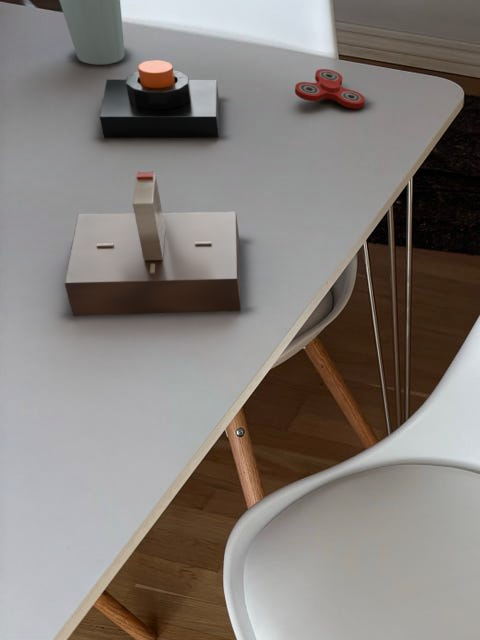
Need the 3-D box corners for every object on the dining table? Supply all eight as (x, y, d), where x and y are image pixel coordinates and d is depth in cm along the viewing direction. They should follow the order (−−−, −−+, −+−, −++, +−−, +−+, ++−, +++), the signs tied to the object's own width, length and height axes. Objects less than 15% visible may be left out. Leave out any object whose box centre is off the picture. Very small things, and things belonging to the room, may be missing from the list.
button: (140, 90, 109) (136, 72, 107) (141, 77, 111) (138, 59, 110) (174, 90, 109) (171, 73, 108) (175, 77, 112) (173, 60, 110)
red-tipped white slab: (163, 260, 87) (152, 200, 83) (143, 260, 87) (131, 200, 83) (165, 229, 91) (155, 170, 87) (146, 229, 90) (135, 170, 87)
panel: (72, 315, 86) (63, 281, 84) (85, 245, 94) (77, 211, 91) (241, 310, 88) (236, 277, 86) (239, 242, 96) (235, 209, 94)
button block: (104, 138, 109) (95, 98, 106) (110, 100, 115) (103, 61, 112) (218, 137, 110) (213, 98, 108) (219, 100, 117) (214, 62, 114)
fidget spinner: (290, 84, 116) (289, 96, 117) (347, 110, 115) (346, 121, 116) (323, 63, 121) (322, 74, 122) (378, 87, 120) (377, 98, 121)
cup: (86, 40, 126) (66, -58, 118) (144, 50, 125) (128, -49, 117) (56, 62, 121) (33, -39, 113) (116, 72, 120) (97, -29, 112)
